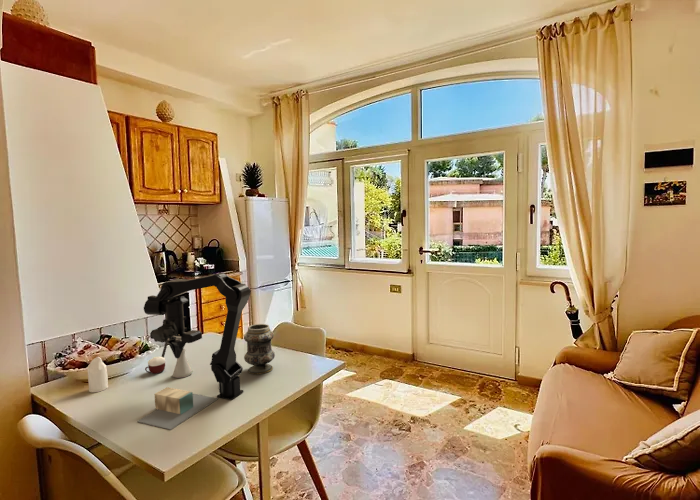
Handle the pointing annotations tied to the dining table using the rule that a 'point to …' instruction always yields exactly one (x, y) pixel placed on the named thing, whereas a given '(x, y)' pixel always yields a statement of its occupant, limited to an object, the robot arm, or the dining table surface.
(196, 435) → the dining table surface
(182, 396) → the brown and teal block
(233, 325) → the robot arm
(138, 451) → the dining table surface
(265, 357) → the apothecary jar
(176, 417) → the slate pad
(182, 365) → the flask
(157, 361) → the cocoa
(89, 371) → the white rounded block
